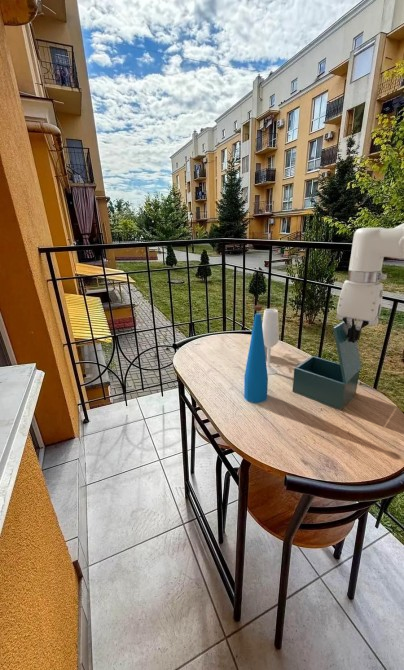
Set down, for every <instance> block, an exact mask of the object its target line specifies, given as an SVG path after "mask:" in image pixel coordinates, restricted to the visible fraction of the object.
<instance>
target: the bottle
mask: <svg viewBox="0 0 404 670" xmlns="http://www.w3.org/2000/svg"><path fill="white" fill-rule="evenodd" d="M253 308H254V310H255V311H256V312H262V310H263V305H258V304H257V305H254V306H253ZM262 322H263V318H262V314H261V313H255V314H254V319H253V325H252V327H253V330H251V332H252V333H251V335H250V336H251V337H250V344H249V349H248V354H247V360H246V365H245V372H244V387H243V388H244V389H243V391H244V392H243V398H244V399H245V400H246V401H247V402H249V403H252V404H262V403H264V402H266V401H267V399H268V385H269V375H267V357H266V356H265V347H264V338H263V329H262Z"/></svg>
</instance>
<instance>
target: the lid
mask: <svg viewBox="0 0 404 670" xmlns="http://www.w3.org/2000/svg"><path fill="white" fill-rule="evenodd" d="M332 330H333V334H334V340H335V341H334V342H335V345H336V350H337V357H338V361H339V362H338V363H340V367H341V372H342V378H343V383H347V382H348V381H349V380H350V379H351V378H352V377H353V376H354V375H355V374H356V373H357V372H358V371H359V370H360V371H361V369H362V363H361V357H360V351H359V347H358V340H357V341H356V342H355V343H352V342H348V338H347V333H348V328H347V325H346V324H345V323H344V321H342V322H341V323H339V324H337V325H335V326H334V327H333V328H332Z"/></svg>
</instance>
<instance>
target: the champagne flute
mask: <svg viewBox="0 0 404 670" xmlns="http://www.w3.org/2000/svg"><path fill="white" fill-rule="evenodd" d="M262 322H263V323H262V329H263V338H264V345H265V346H266V347H267V348H268V349H267V357H266V365H267V375H268V376H272V375H275V374H277V373H278V371H277V368H274V367H273V366H271V352H272V348H273V347H275V346H276V345H277V344H279V341H280V330H279V325H278V324H279V310H278V309H276V308H265V309H264V310H263V316H262Z"/></svg>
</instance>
